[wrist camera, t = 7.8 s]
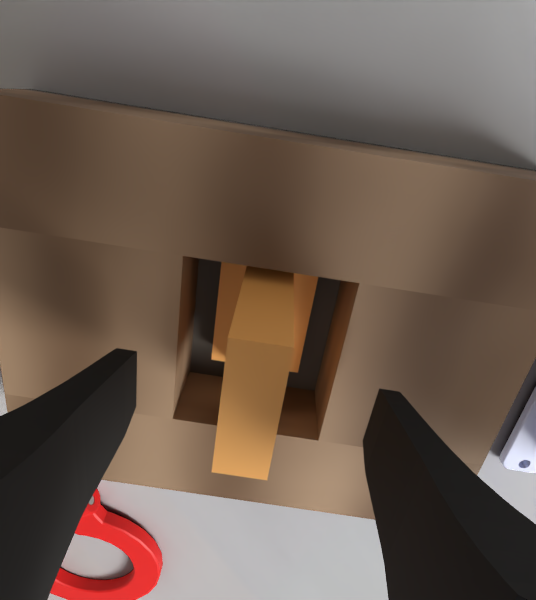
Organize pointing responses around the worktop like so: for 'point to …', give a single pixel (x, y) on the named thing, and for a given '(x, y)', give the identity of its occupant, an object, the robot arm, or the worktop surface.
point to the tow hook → (126, 536)
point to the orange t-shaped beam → (256, 360)
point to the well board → (270, 255)
